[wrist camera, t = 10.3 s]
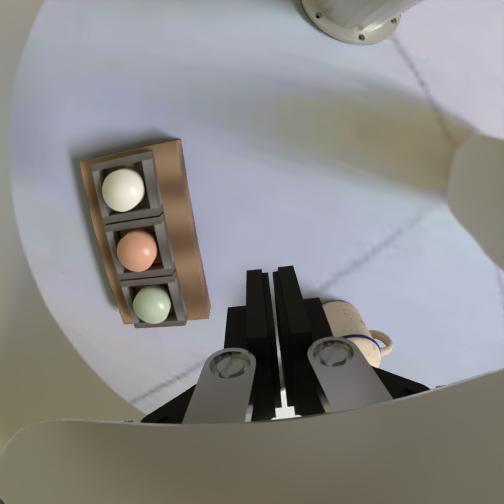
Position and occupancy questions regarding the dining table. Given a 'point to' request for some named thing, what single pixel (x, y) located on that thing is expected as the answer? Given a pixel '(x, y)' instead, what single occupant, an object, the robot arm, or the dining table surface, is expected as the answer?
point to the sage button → (152, 303)
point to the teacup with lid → (356, 331)
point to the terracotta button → (138, 249)
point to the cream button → (124, 189)
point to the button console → (159, 223)
